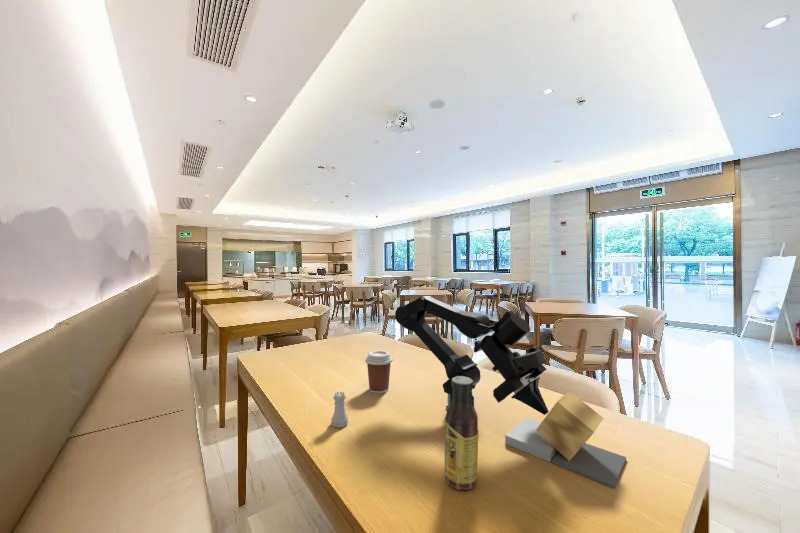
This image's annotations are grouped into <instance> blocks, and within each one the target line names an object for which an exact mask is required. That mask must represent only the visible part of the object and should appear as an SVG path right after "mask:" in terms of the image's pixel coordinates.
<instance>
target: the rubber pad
mask: <svg viewBox="0 0 800 533" xmlns="http://www.w3.org/2000/svg"><path fill="white" fill-rule="evenodd" d="M626 462H627V457H626V456H624V455H621V454H618V453H615V452H612V451H610V450H606V449H604V448H600V447H599V446H596V445H592V444H590V443H587V442H585V444H584V445H583V446H582V447H581V448H580V450H579V451H578V452H577V453H576V454H575V455H574V457H573V458H572V459H571V460H570V461H568V460H567V459H566V458H565V457H564V456H563V455H562V454H561V453H560V452H558V453H557V454H556V456H555V457H554V458H553V459H552V461H551V464H553V465H555V466H558V467H561V468H563V469H566V470H568V471H570V472H573V473H575V474H577V475H580V476H583V477H585V478H588V479H590V480H593V481H595V482H597V483H600V484H602V485H604V486H606V487H610V488H611V489H615V487H616V485H617V483H618V481H619V478H620V475H621V474H622V471H623V468H624V466H625V463H626Z"/></svg>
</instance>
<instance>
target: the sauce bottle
mask: <svg viewBox="0 0 800 533" xmlns="http://www.w3.org/2000/svg"><path fill="white" fill-rule="evenodd" d="M451 386H452V401H451V404H450V406H449V409H448V411H447V412H446V415H445V418H444V419H445V420H444V475H445V476H444V477H445V481H446V483H447V485H449V486H450V487H451V488H453V489H454V490H459V491H470V490H471V489H473V488H474V487H476V485H477V478H478V468H479V467H478V464H479V463H478V462H479V461H478V458H479V457H478V456H479V455H478V454H479V453H478V452H479V426H478V422H479V421H478V420H479V416H478V413H477V411H476V408H475V406H474V407H473V405H472V395H473V390H474V389H473V380H472V379H471V378H468V377H464V376H457V377H454V378H452V381H451Z"/></svg>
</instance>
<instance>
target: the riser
mask: <svg viewBox="0 0 800 533" xmlns="http://www.w3.org/2000/svg"><path fill="white" fill-rule="evenodd" d="M541 422H542V421H539V420H536V419H533V418H531V417H525V418H524V419H522V421H520V422H519V423H518V424H517V425H516V426H514V427H513V428H512V429H511V430H509V431H508V432H507V433H506V434H505V435H504V436H505V437H504V439H505V440H504V442H505V443H504V444H505V445H507V446H510V447H512V448H515V449H517V450H520V451H522V452H524V453H526V454H528V455H532V456H534V457H537V458H539V459H541V460H544V461H546V462H549V463H552V459H553V458H554V457H555V456H556V454H557V453H558V452H559V451H557V450H556V449H555V448H554V447H553V446H552V445H551V444H550V443H549V442H548V441H547V440H546V439H545V438H543V437H542V436H541V435H540V434H539V433H538V432H537V431H536V429H537V428H538V426H539V425H540V424H541Z"/></svg>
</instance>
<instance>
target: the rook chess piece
mask: <svg viewBox="0 0 800 533" xmlns="http://www.w3.org/2000/svg"><path fill="white" fill-rule="evenodd" d="M346 398H347V396H346V395H345V392H344V391H343V392H342V391H336V392H334V396H333V401H334V403H333V404H334V412H333V414H332V417H331V419H330V420H331V422H330V424H331V426H332V427H333V428H336V429H341V428H344V427H346V426H347V425H348V423H349V417H348V414H347V413H346V409H345V404H346V402H345V400H346Z"/></svg>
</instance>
